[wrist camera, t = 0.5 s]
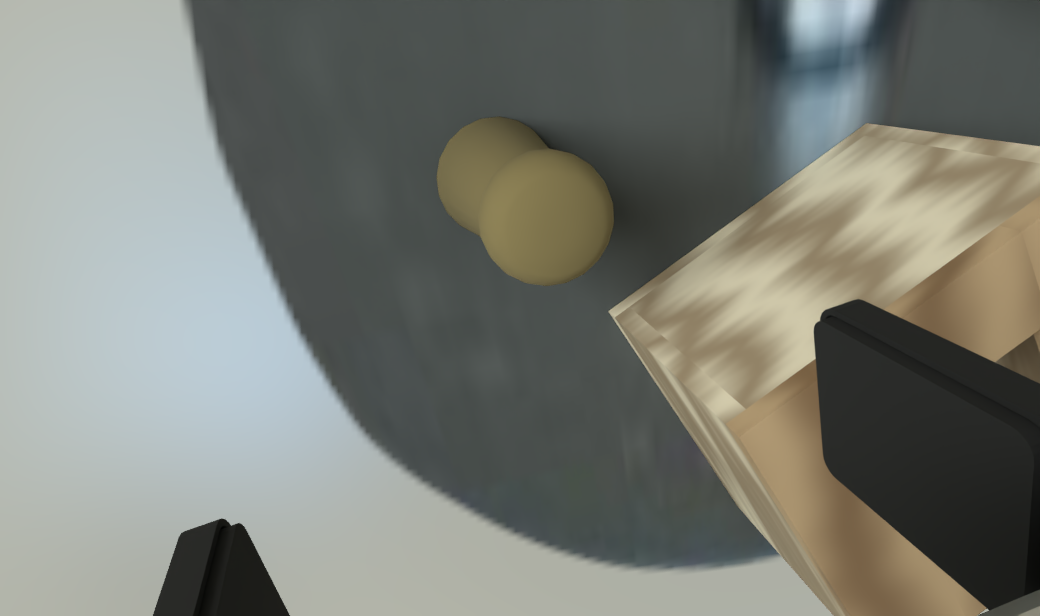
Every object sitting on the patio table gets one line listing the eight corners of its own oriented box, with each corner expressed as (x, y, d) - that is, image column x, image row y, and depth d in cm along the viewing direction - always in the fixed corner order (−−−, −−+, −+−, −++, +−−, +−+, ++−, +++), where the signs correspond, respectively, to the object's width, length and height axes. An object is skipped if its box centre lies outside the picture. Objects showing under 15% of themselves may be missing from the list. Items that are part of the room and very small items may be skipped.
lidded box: (866, 123, 39) (1123, 157, 26) (955, 349, 46) (1189, 462, 34) (608, 311, 39) (738, 436, 26) (738, 506, 46) (889, 678, 34)
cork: (549, 236, 37) (627, 305, 27) (435, 236, 35) (473, 309, 25) (557, 119, 35) (646, 146, 25) (437, 113, 33) (480, 140, 23)
